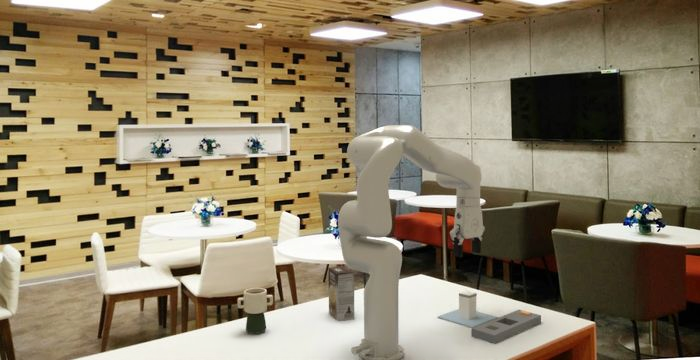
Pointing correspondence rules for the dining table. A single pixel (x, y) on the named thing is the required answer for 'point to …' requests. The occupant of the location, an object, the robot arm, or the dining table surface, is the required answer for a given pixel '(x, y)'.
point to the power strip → (505, 326)
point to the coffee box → (341, 293)
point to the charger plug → (467, 304)
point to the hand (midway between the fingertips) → (467, 254)
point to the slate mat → (471, 323)
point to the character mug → (255, 308)
